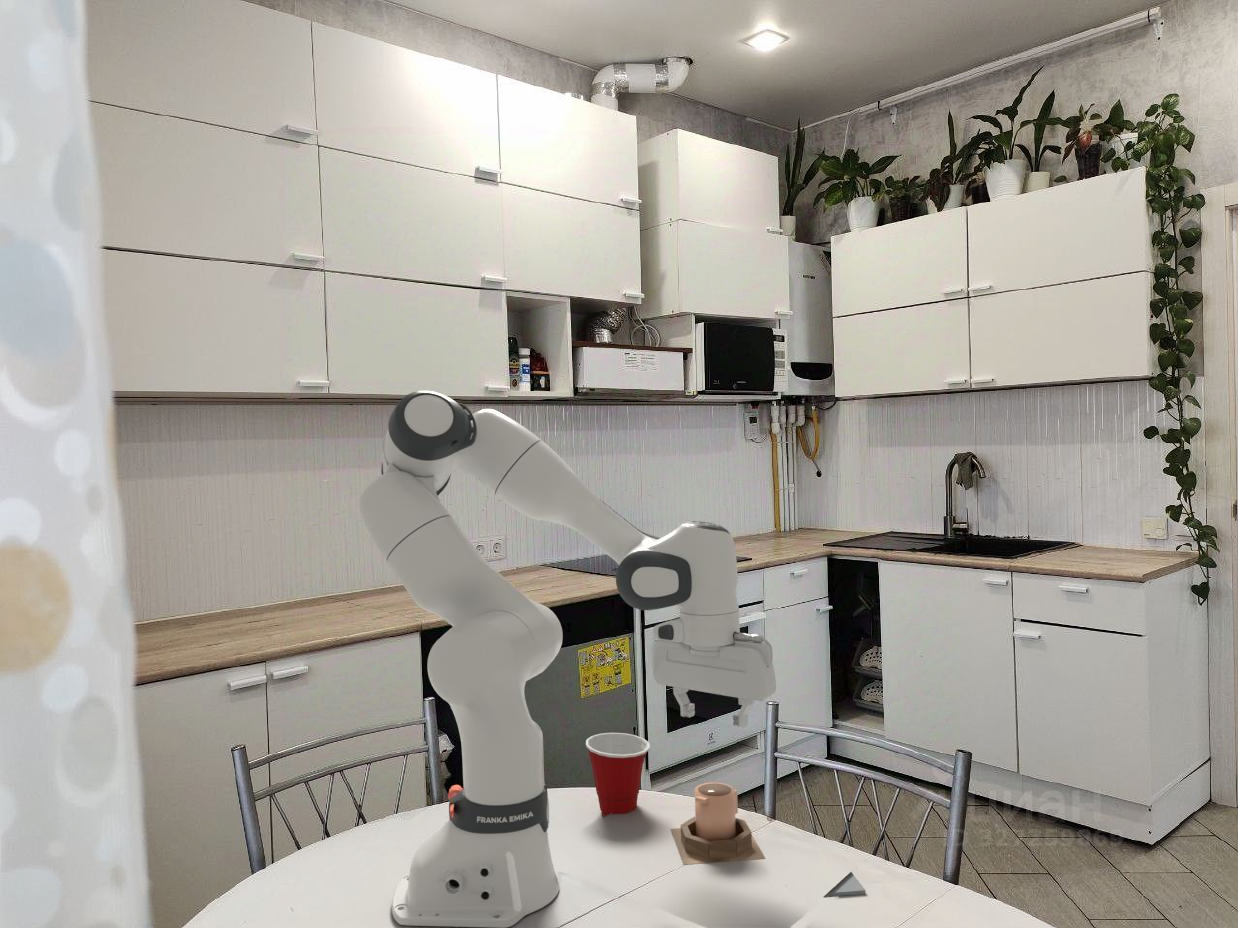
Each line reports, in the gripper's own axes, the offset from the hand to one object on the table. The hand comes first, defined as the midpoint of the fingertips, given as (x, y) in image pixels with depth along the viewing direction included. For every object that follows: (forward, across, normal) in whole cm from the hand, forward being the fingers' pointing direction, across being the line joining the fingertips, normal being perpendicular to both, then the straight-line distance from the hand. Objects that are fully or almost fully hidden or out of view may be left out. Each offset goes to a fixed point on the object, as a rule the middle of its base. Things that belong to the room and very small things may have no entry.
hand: (713, 721), depth 132 cm
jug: (+18, 0, 0) cm, 18 cm away
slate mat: (+20, -16, 0) cm, 25 cm away
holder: (+19, 0, 0) cm, 19 cm away
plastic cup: (+19, +21, -2) cm, 29 cm away
